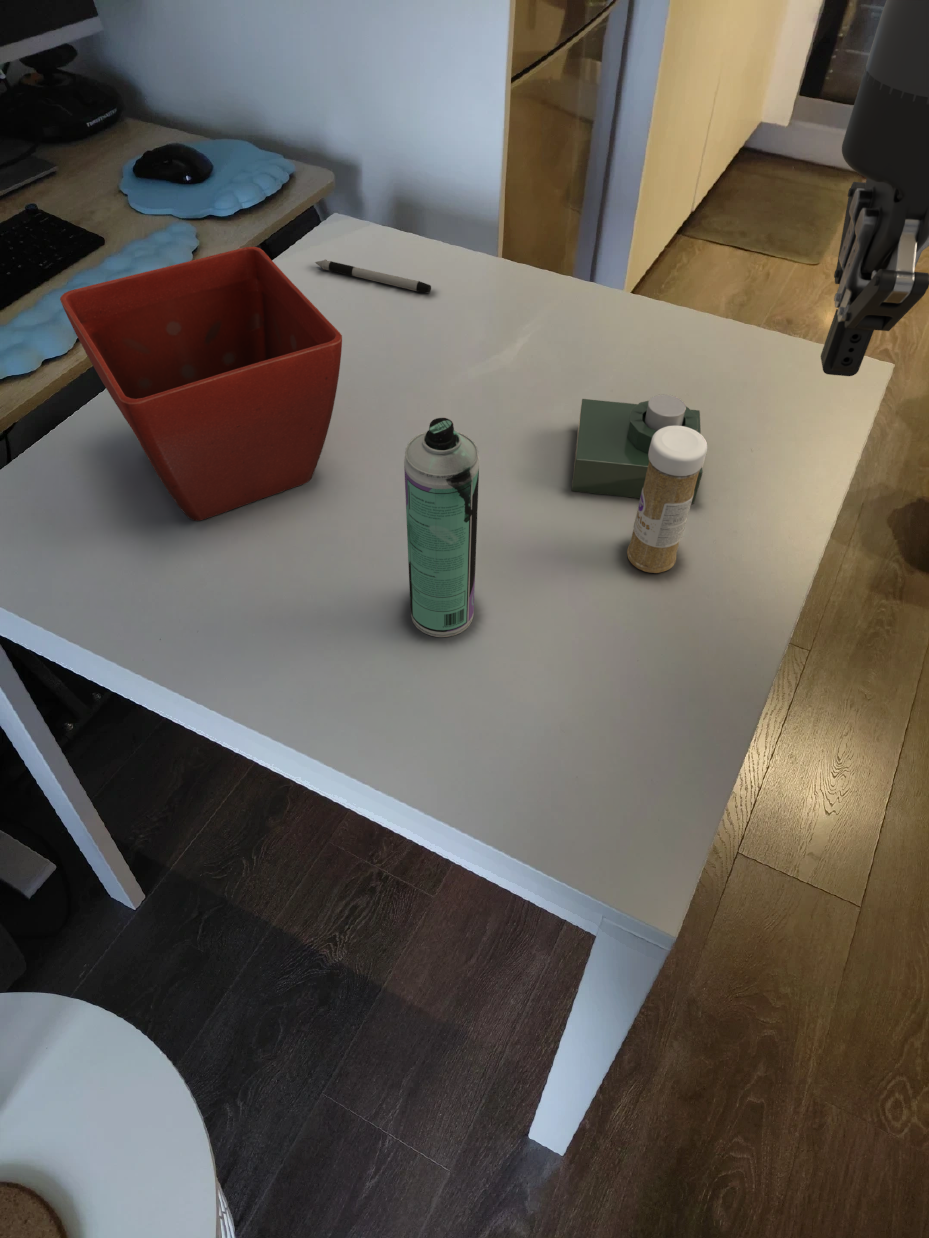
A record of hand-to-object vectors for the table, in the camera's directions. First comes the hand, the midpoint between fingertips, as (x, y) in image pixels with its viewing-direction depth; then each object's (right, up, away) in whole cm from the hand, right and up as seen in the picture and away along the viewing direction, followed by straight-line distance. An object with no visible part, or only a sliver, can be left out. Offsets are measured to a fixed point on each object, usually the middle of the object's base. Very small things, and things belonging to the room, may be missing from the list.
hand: (837, 368), depth 58 cm
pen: (-36, +27, +58) cm, 73 cm away
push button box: (-7, -1, +34) cm, 34 cm away
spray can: (-26, -16, +20) cm, 37 cm away
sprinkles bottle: (-7, -11, +25) cm, 28 cm away
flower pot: (-47, -1, +33) cm, 58 cm away
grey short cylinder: (-5, +3, +29) cm, 30 cm away
